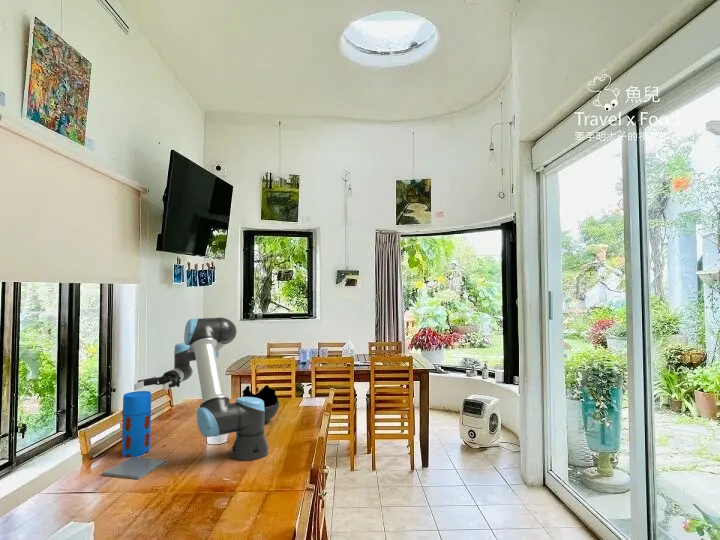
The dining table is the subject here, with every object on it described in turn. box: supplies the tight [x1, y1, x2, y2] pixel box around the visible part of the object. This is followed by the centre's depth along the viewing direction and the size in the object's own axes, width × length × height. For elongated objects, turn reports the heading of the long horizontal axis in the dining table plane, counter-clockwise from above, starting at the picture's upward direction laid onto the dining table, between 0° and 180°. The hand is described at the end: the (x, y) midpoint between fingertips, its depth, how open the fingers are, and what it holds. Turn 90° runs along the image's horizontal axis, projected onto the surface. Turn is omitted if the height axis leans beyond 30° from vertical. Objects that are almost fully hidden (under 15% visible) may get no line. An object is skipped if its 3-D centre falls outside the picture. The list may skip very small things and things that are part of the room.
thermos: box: [121, 390, 152, 458], centre depth 186 cm, size 11×11×25 cm
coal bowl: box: [241, 384, 280, 423], centre depth 228 cm, size 20×20×19 cm
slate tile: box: [101, 456, 169, 480], centre depth 169 cm, size 16×16×1 cm
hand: (149, 387), depth 197 cm, fingers open, 13 cm apart
